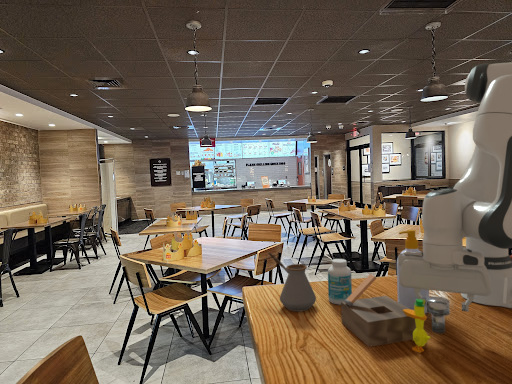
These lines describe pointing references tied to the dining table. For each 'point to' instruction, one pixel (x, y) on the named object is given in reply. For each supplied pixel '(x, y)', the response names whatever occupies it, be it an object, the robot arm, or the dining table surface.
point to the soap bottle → (404, 293)
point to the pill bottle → (339, 281)
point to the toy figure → (418, 325)
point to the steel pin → (438, 312)
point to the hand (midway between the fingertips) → (443, 307)
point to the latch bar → (360, 290)
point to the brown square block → (378, 320)
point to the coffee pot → (296, 288)
